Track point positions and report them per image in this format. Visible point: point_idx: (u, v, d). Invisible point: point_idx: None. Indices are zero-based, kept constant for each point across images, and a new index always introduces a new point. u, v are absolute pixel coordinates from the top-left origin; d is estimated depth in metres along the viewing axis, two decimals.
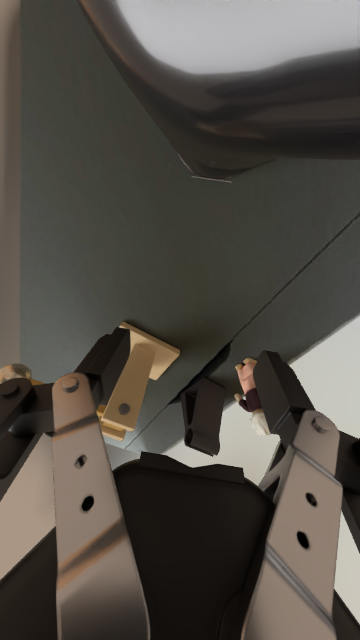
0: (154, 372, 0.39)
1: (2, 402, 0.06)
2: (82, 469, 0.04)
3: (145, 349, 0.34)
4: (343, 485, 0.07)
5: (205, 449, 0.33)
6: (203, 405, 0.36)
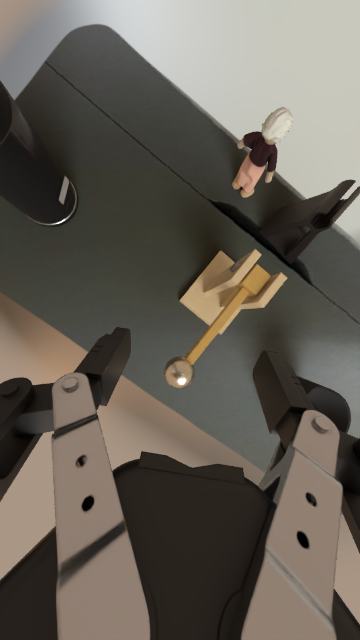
0: None
1: (2, 402, 0.06)
2: (82, 469, 0.04)
3: (211, 283, 0.34)
4: (343, 485, 0.07)
5: (340, 195, 0.24)
6: (287, 220, 0.31)
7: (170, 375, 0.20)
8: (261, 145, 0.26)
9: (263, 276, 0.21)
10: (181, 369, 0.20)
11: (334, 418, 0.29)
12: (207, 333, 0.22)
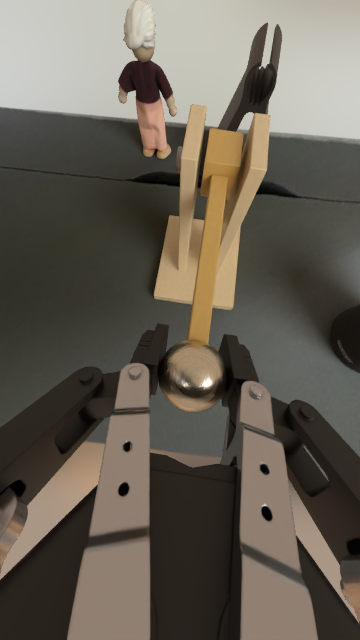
0: None
1: (78, 386, 0.07)
2: (126, 454, 0.05)
3: None
4: None
5: (261, 41, 0.18)
6: None
7: (172, 388, 0.08)
8: (139, 70, 0.21)
9: (232, 137, 0.12)
10: (187, 360, 0.08)
11: None
12: (200, 271, 0.10)
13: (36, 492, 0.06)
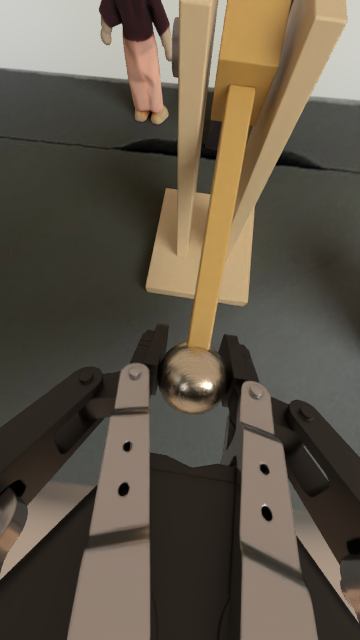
0: None
1: (78, 386, 0.07)
2: (126, 455, 0.05)
3: None
4: None
5: None
6: None
7: (170, 399, 0.08)
8: None
9: None
10: (185, 376, 0.08)
11: None
12: (203, 262, 0.08)
13: (36, 492, 0.06)
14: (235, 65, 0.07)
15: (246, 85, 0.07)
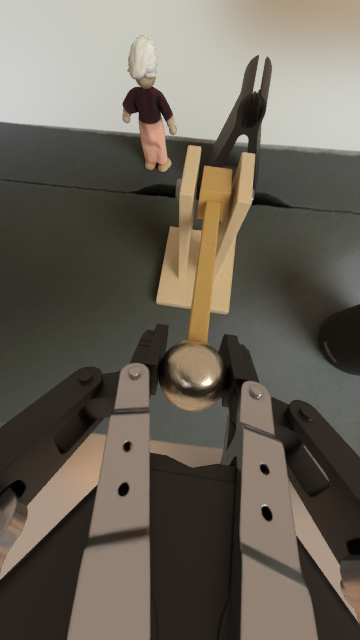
0: None
1: (77, 386, 0.07)
2: (126, 455, 0.05)
3: None
4: (283, 452, 0.08)
5: (252, 73, 0.19)
6: (217, 152, 0.26)
7: (172, 383, 0.08)
8: (142, 95, 0.23)
9: (222, 172, 0.14)
10: (188, 355, 0.09)
11: None
12: (198, 278, 0.11)
13: (36, 492, 0.06)
14: (209, 192, 0.13)
15: (215, 201, 0.14)
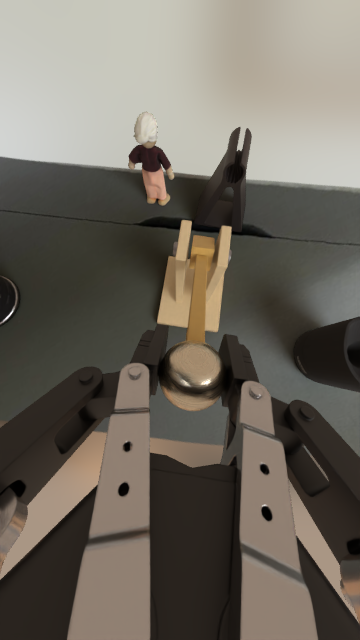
0: None
1: (77, 386, 0.07)
2: (126, 454, 0.05)
3: None
4: (283, 451, 0.08)
5: (235, 143, 0.24)
6: (209, 196, 0.30)
7: (175, 369, 0.09)
8: (145, 152, 0.27)
9: (207, 239, 0.19)
10: (188, 346, 0.09)
11: None
12: (193, 299, 0.13)
13: (36, 492, 0.06)
14: (198, 248, 0.18)
15: (203, 255, 0.18)
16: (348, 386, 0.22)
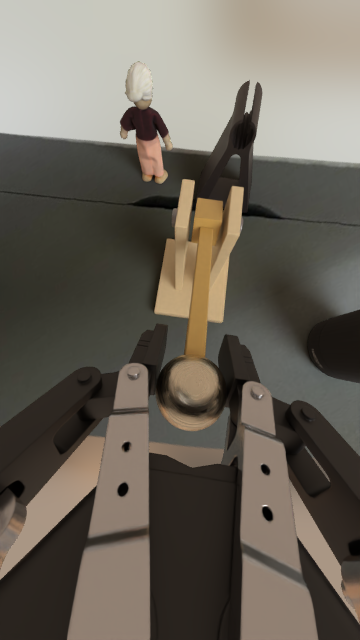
0: None
1: (76, 386, 0.07)
2: (125, 455, 0.05)
3: None
4: (284, 452, 0.08)
5: (243, 99, 0.21)
6: (212, 168, 0.27)
7: (171, 397, 0.08)
8: (139, 115, 0.24)
9: (214, 203, 0.15)
10: (186, 368, 0.08)
11: None
12: (194, 295, 0.12)
13: (35, 492, 0.06)
14: (202, 219, 0.15)
15: (208, 227, 0.15)
16: None
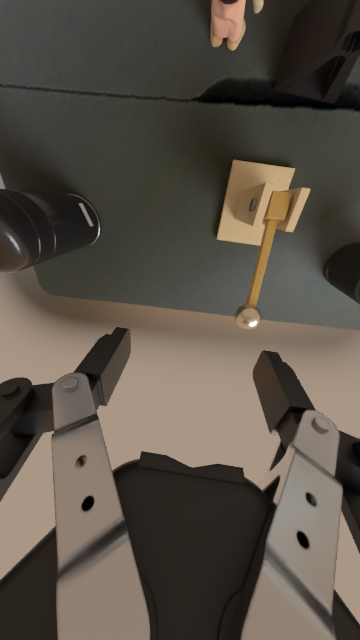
0: (278, 177, 0.30)
1: (2, 402, 0.06)
2: (82, 469, 0.04)
3: (238, 204, 0.33)
4: (343, 485, 0.07)
5: None
6: (307, 53, 0.21)
7: (243, 322, 0.25)
8: None
9: (284, 198, 0.22)
10: (249, 314, 0.25)
11: None
12: (256, 276, 0.25)
13: None
14: (271, 217, 0.22)
15: (274, 220, 0.23)
16: (350, 297, 0.33)
